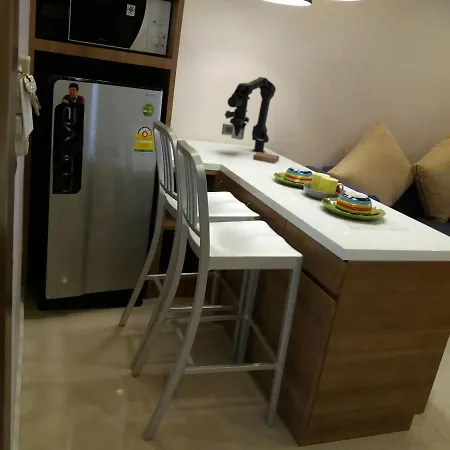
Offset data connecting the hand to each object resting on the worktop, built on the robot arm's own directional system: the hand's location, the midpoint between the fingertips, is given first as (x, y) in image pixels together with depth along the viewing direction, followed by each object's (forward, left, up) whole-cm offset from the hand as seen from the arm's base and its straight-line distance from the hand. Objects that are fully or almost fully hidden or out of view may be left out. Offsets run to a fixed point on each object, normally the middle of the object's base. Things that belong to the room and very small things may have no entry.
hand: (237, 135), depth 289 cm
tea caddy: (0, 0, -2) cm, 2 cm away
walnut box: (0, +18, -11) cm, 21 cm away
